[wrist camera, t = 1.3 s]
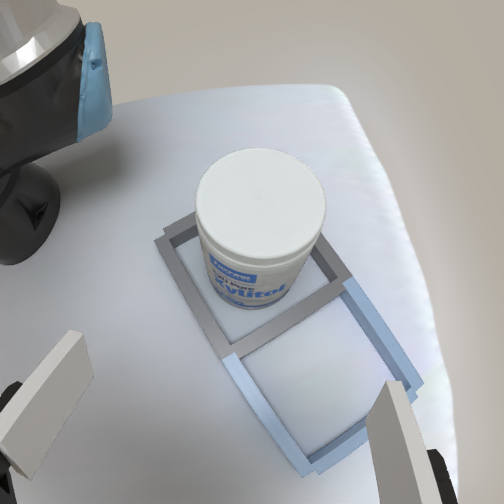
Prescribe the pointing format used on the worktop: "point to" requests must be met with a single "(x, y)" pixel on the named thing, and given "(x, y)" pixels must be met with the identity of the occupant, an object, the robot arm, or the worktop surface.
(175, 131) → the worktop surface
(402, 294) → the worktop surface
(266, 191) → the supplement tub
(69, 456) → the worktop surface
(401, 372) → the bay frame
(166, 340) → the worktop surface
